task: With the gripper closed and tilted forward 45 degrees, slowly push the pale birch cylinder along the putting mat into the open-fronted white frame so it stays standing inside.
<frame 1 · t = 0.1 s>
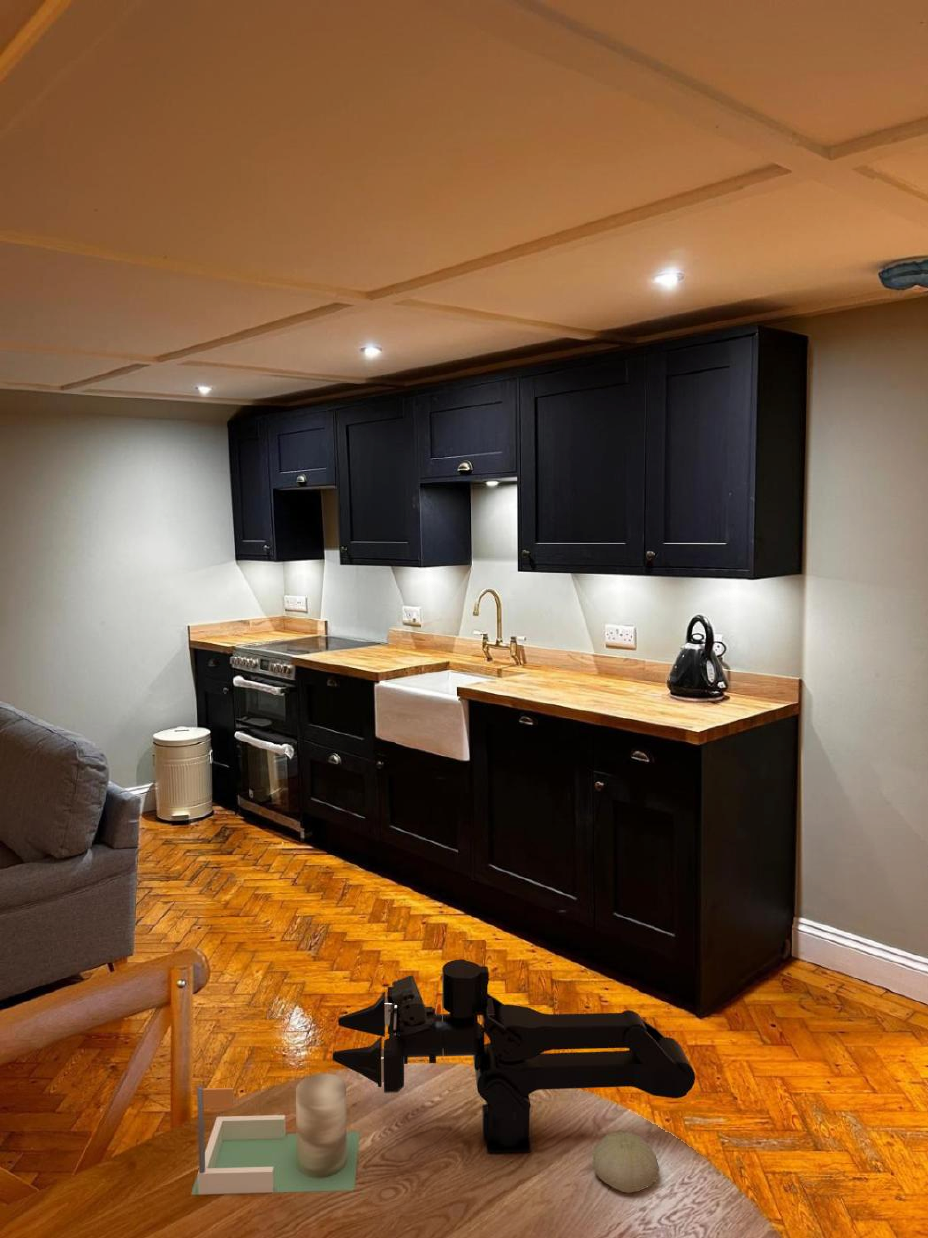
hand: (335, 1038, 135), 17 cm above the table, tool horizontal, fingers open, 9 cm apart
birch cylinder: (321, 1161, 132), point 1 cm above the table, touching putting mat
putting mat: (279, 1168, 132), on the table
white frame: (247, 1169, 131), resting on putting mat
sea urchin shell: (625, 1176, 131), on the table
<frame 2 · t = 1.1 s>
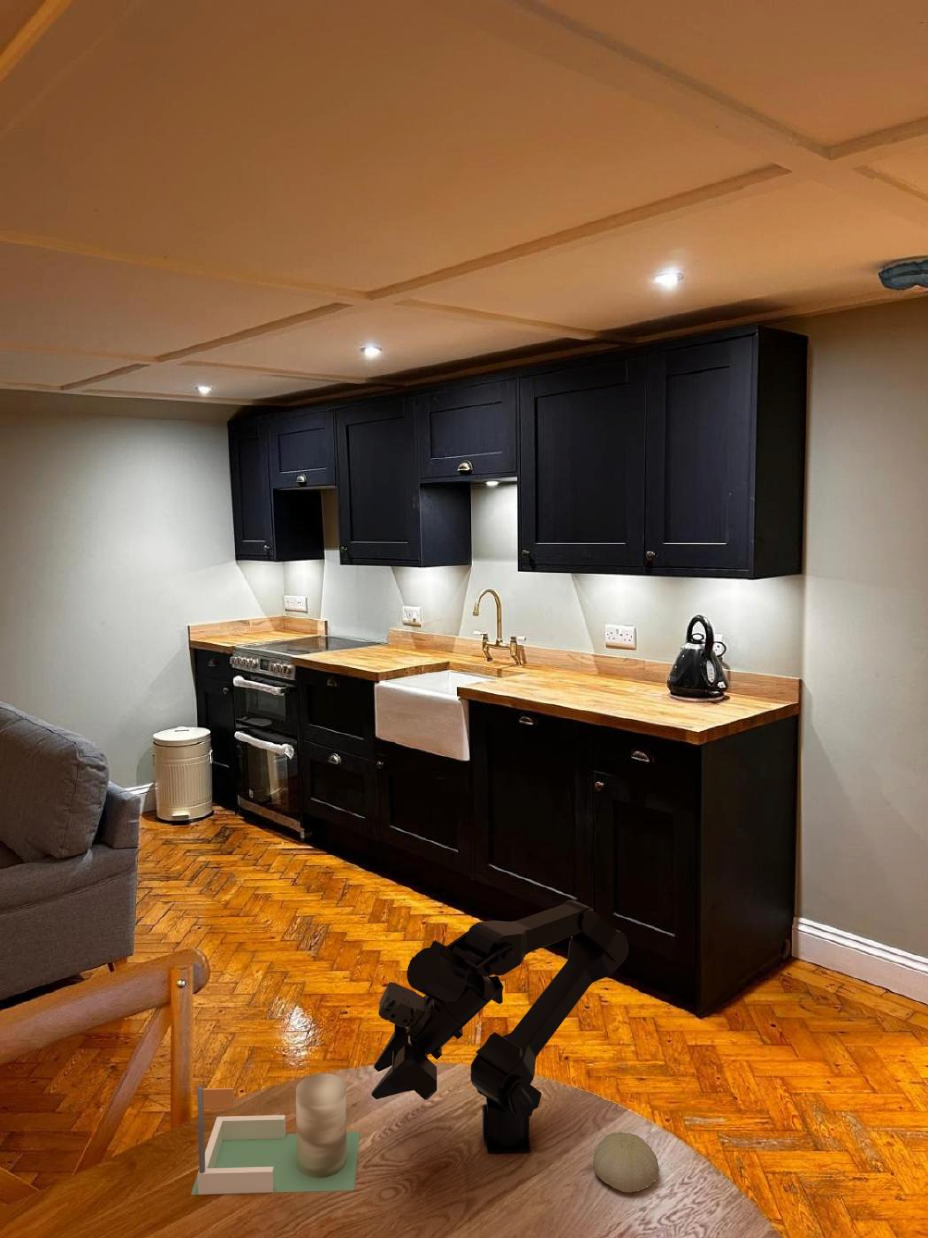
hand: (374, 1082, 131), 13 cm above the table, tool tilted 45°, fingers open, 6 cm apart
nothing on the table moved.
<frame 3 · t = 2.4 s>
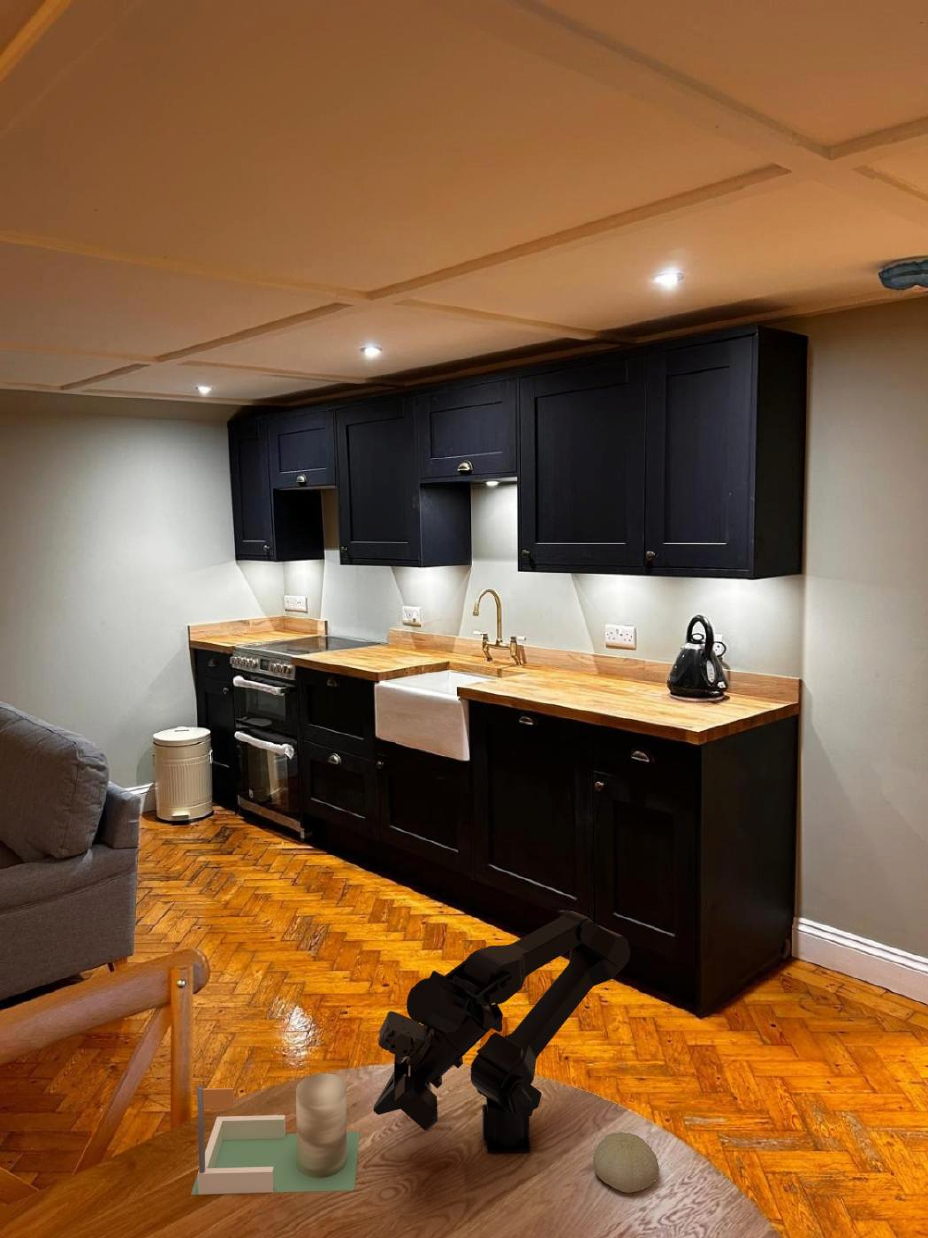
hand: (375, 1111, 131), 8 cm above the table, tool tilted 45°, fingers closed
nothing on the table moved.
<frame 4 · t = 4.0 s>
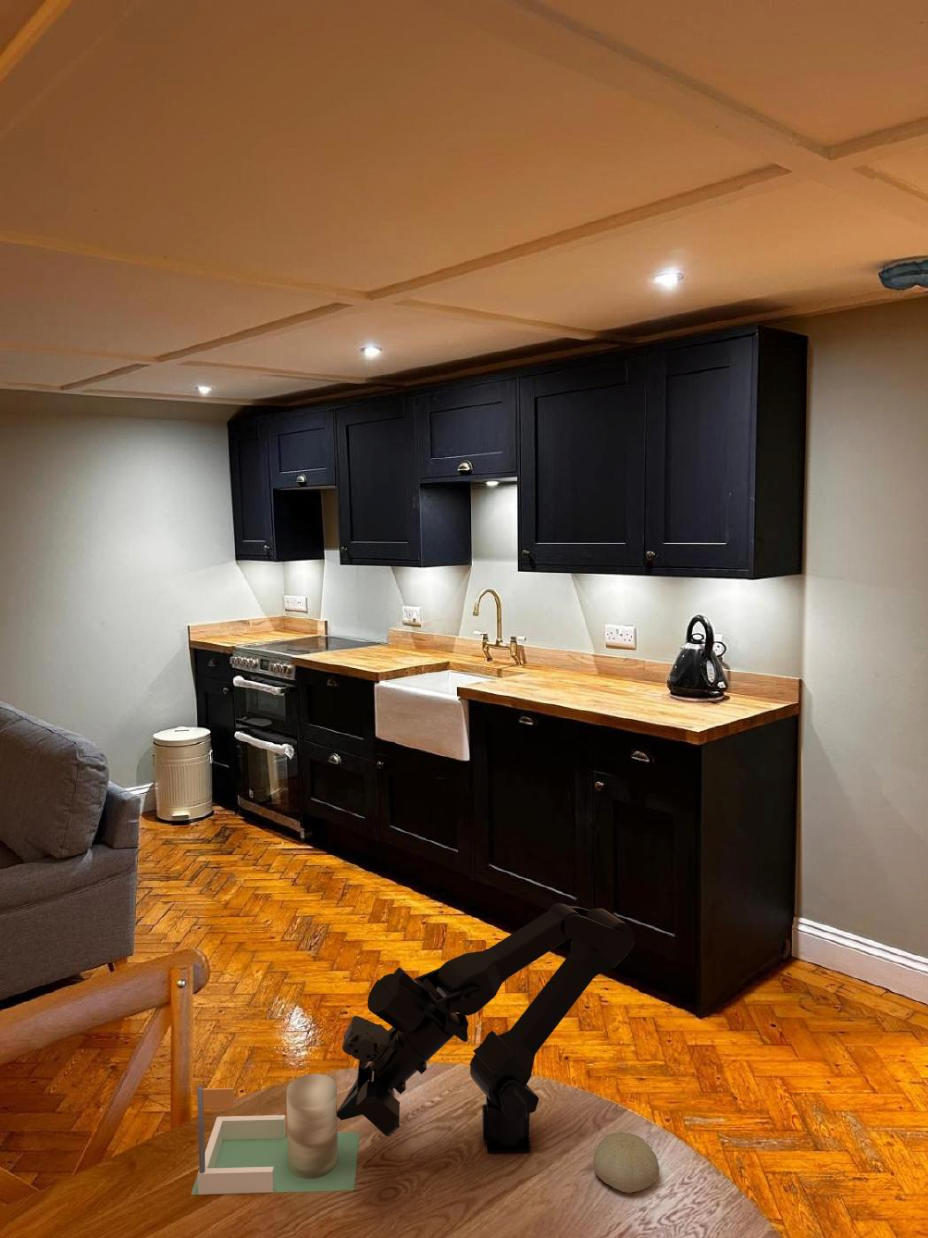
hand: (338, 1116, 131), 8 cm above the table, tool tilted 45°, fingers closed, pressing on birch cylinder
birch cylinder: (312, 1161, 132), point 1 cm above the table, touching gripper
everything else where it was.
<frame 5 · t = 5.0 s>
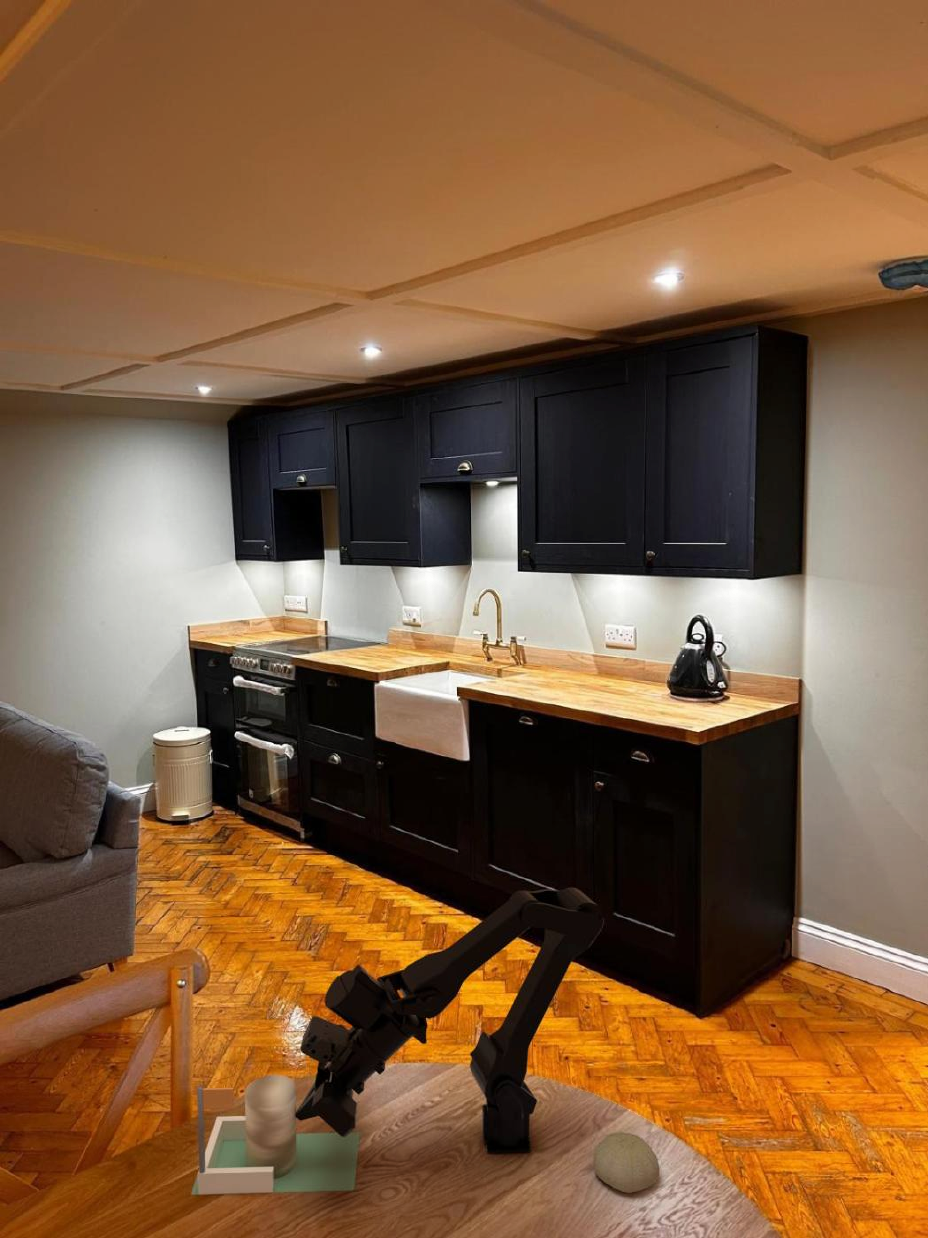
hand: (297, 1117, 131), 8 cm above the table, tool tilted 45°, fingers closed
birch cylinder: (271, 1162, 131), point 1 cm above the table, touching putting mat
everything else where it was.
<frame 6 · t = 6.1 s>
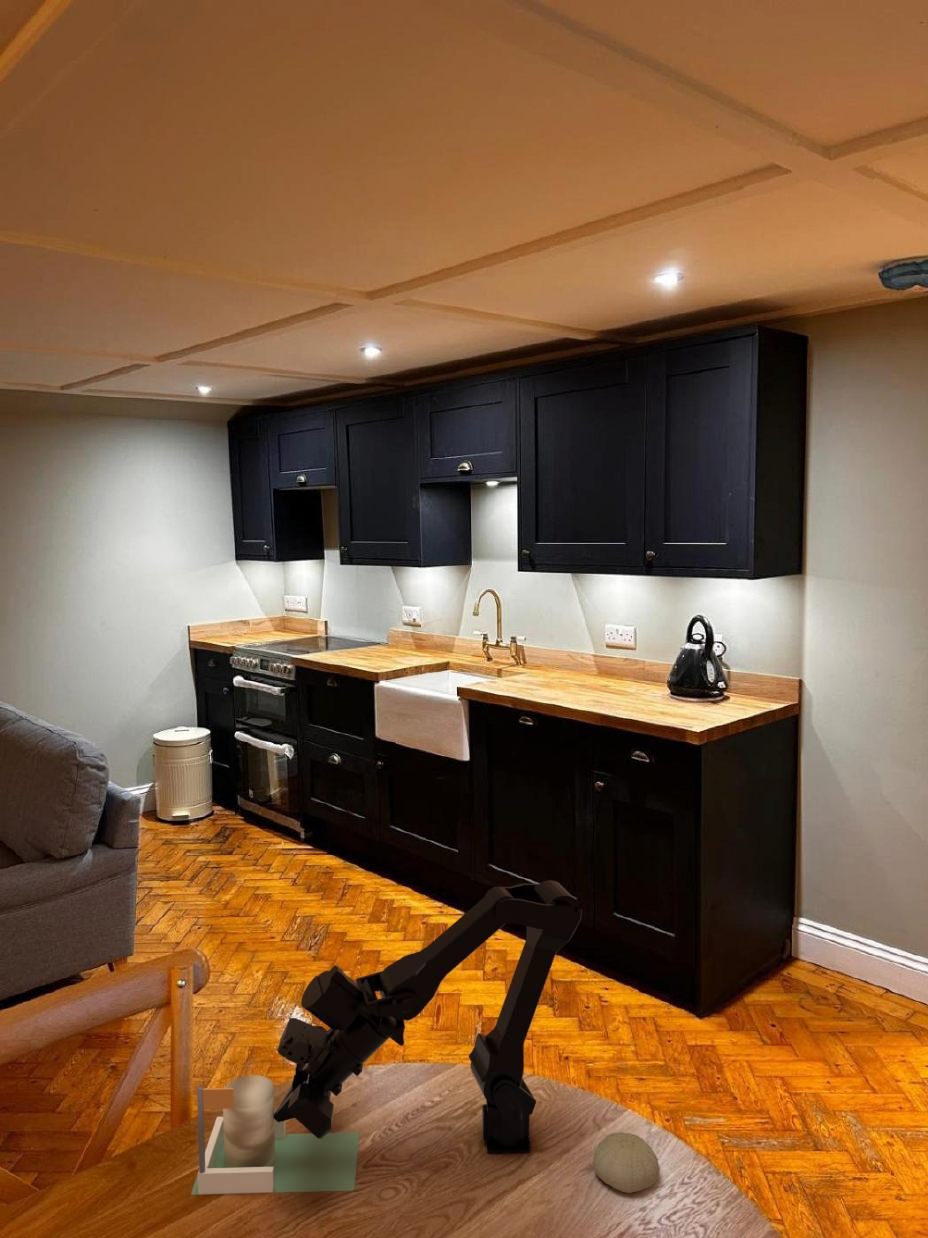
hand: (276, 1118, 131), 8 cm above the table, tool tilted 45°, fingers closed
birch cylinder: (249, 1163, 131), point 1 cm above the table, touching gripper, putting mat
everything else where it was.
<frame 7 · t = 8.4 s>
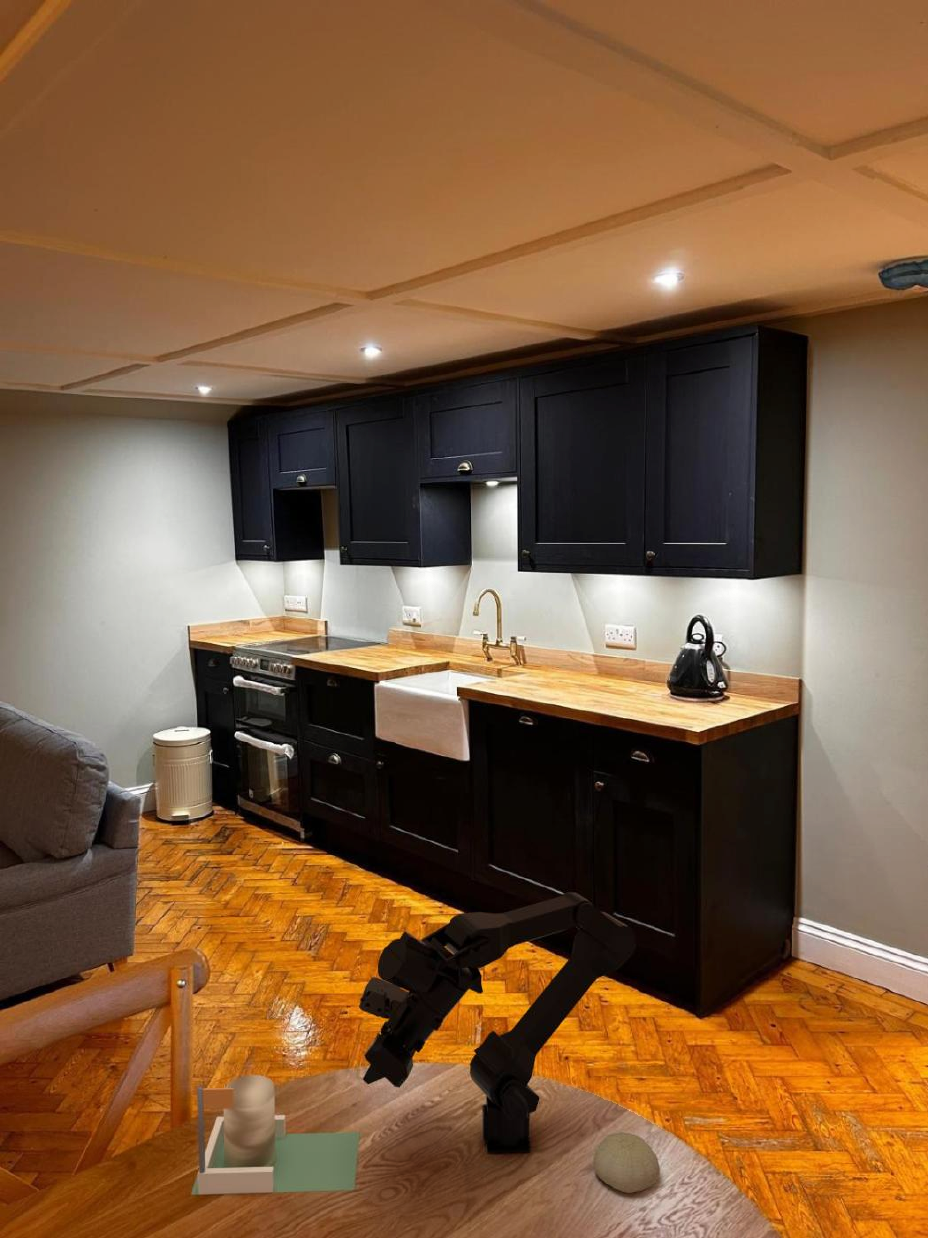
hand: (365, 1081, 132), 12 cm above the table, tool tilted 40°, fingers closed
birch cylinder: (250, 1162, 131), point 1 cm above the table, touching putting mat
everything else where it was.
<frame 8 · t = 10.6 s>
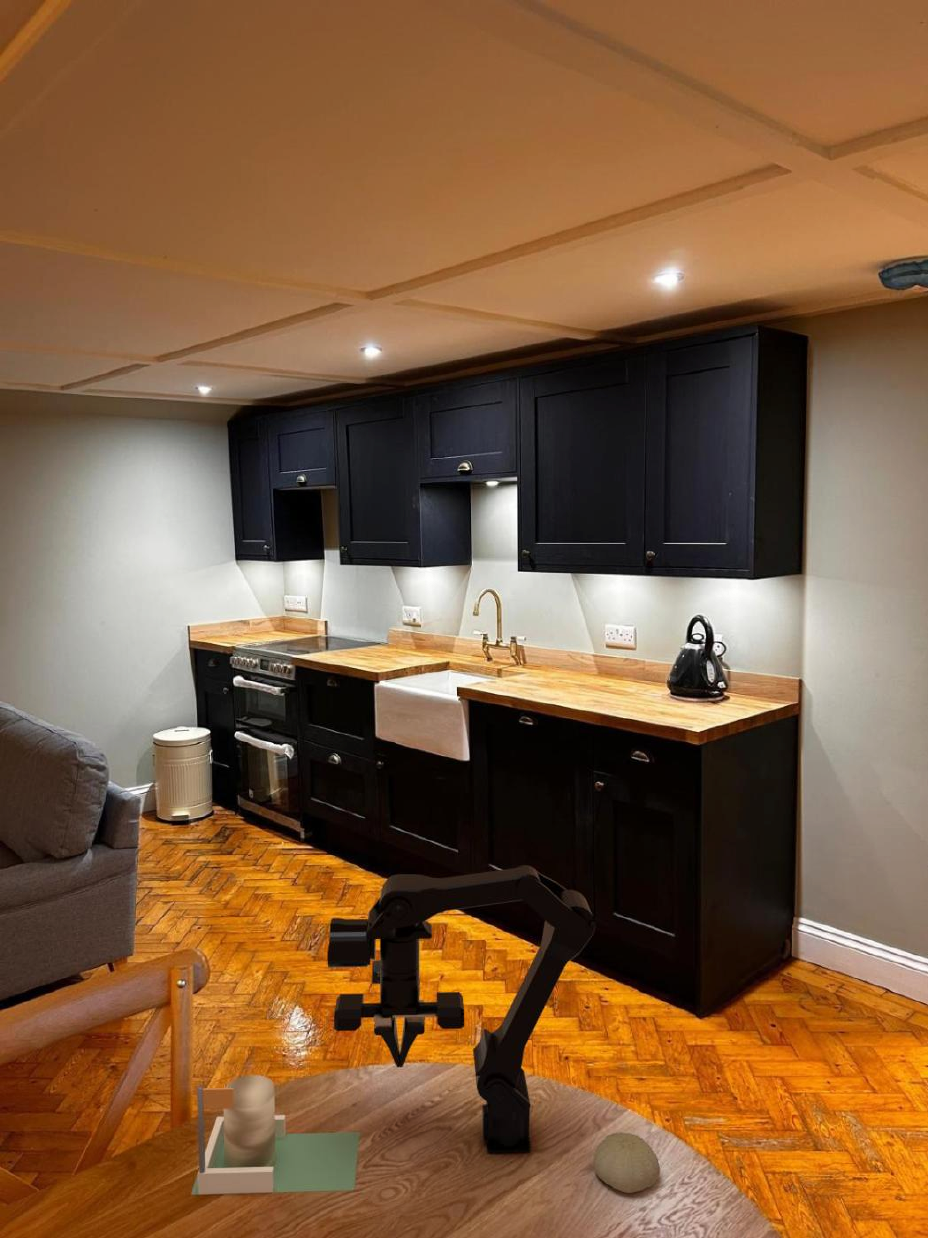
hand: (399, 1065, 136), 12 cm above the table, tool pointing down, fingers closed
nothing on the table moved.
at the end: birch cylinder 0.4 cm from the target spot, point 1.0 cm above the table; birch cylinder tilted 0° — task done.
